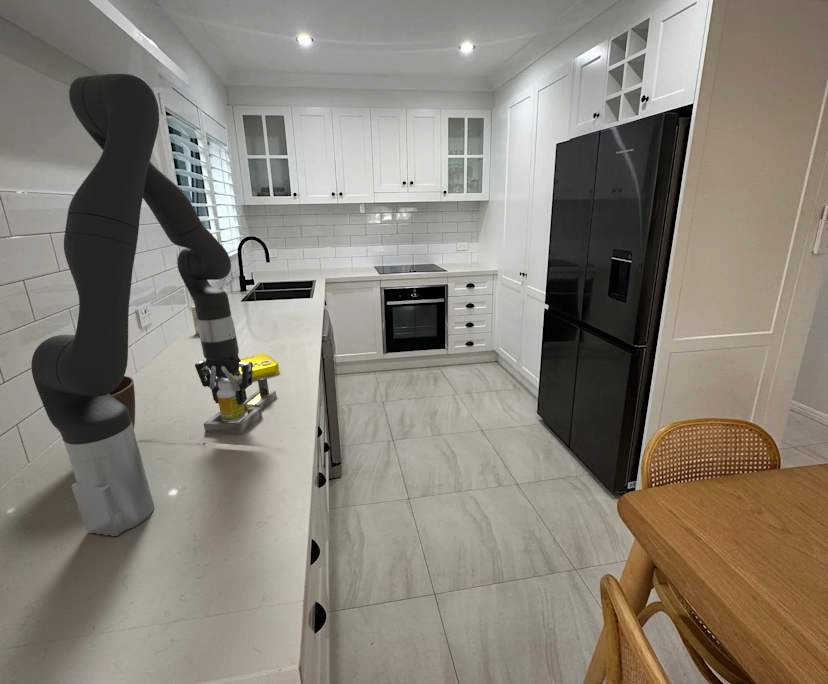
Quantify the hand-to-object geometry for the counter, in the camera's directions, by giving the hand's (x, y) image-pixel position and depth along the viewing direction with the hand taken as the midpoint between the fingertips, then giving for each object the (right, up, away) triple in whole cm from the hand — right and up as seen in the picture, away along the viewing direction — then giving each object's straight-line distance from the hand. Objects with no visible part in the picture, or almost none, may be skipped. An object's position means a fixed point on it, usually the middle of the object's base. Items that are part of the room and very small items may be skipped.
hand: (230, 402), depth 103 cm
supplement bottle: (0, -4, +1) cm, 4 cm away
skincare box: (-49, +19, +87) cm, 101 cm away
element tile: (-9, +3, +36) cm, 37 cm away
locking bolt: (+2, -2, +12) cm, 13 cm away
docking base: (+1, -5, +8) cm, 9 cm away
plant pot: (-23, -11, -8) cm, 27 cm away
